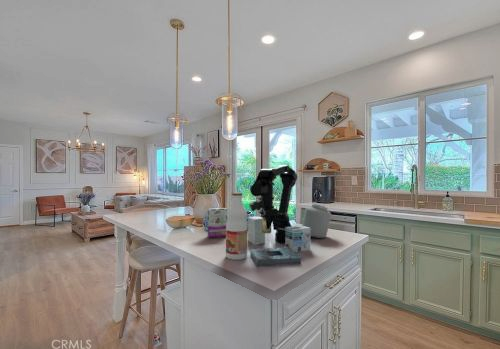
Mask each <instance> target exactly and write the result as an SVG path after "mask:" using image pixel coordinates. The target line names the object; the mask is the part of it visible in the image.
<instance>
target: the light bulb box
mask: <svg viewBox="0 0 500 349" xmlns="http://www.w3.org/2000/svg"><path fill="white" fill-rule="evenodd" d="M291 226H292V227H285V243H284V245H285V246H284V248H285V247H289V248H290V249H291V250H293V251H294V252H295V253H301V252H307V251H310V250H311V236H310V230H311V228H309V227H306V226H303V225H302V224H301V225H294V226H293V225H291Z"/></svg>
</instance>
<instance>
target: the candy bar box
mask: <svg viewBox="0 0 500 349" xmlns="http://www.w3.org/2000/svg"><path fill="white" fill-rule="evenodd" d="M227 209H228V207H227V208H226V207H216V208H213V207H212V208H211V207H210V208H207V238H208V239H211V238H212V239H214V238H215V239H216V238H226V223H227V215H226V212H227Z"/></svg>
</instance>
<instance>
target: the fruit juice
mask: <svg viewBox="0 0 500 349" xmlns="http://www.w3.org/2000/svg"><path fill="white" fill-rule="evenodd" d="M243 195H244V194H243V192H238V191H237V192H231V196H230V197H231V202H230V205H229V206H228V207H227V212H226V215H227V223H226V237H225V257H226V258H227V259H228V260H235V261H239V260H244V259H246V258H247V256H248V221H247V217H248V216H247V215H248V210H247V209H246V207H245V206H244V203H243V200H242V199H243Z"/></svg>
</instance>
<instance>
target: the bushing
mask: <svg viewBox="0 0 500 349" xmlns="http://www.w3.org/2000/svg"><path fill="white" fill-rule="evenodd" d="M261 218H262V233H265V234H271V233H272V225H271V226H270V228H269V229H267V226H266V220H265V217H262V216H261Z"/></svg>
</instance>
